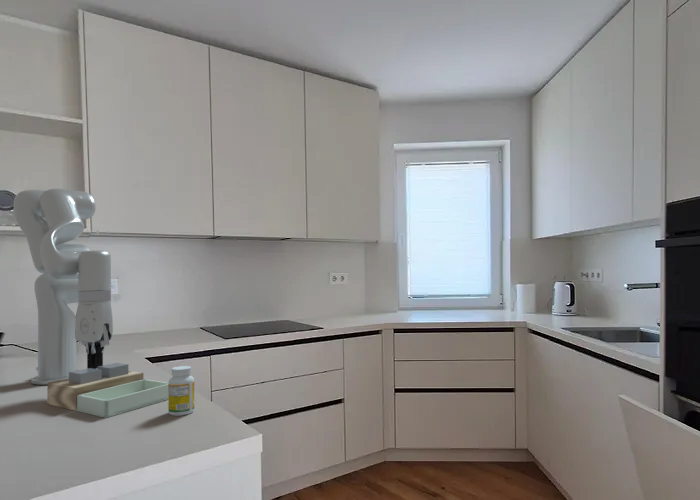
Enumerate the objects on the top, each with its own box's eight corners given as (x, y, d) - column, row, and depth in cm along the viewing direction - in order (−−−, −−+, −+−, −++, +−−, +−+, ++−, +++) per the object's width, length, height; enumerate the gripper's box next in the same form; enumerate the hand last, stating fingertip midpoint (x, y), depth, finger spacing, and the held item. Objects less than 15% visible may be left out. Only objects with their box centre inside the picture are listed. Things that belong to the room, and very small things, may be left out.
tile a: (97, 376, 116) (97, 366, 116) (116, 372, 120) (116, 362, 120) (109, 378, 113) (109, 368, 113) (128, 373, 118) (128, 364, 118)
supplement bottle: (181, 417, 97) (181, 371, 97) (162, 414, 99) (162, 369, 100) (200, 410, 102) (199, 366, 102) (181, 407, 104) (181, 364, 104)
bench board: (47, 404, 110) (47, 382, 110) (115, 387, 124) (115, 368, 125) (75, 410, 104) (75, 388, 104) (143, 392, 118) (143, 372, 118)
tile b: (68, 382, 110) (68, 372, 110) (89, 377, 114) (89, 368, 114) (80, 384, 107) (80, 374, 107) (101, 379, 112) (101, 369, 112)
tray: (77, 411, 103) (77, 395, 103) (145, 392, 118) (144, 379, 118) (105, 417, 98) (105, 401, 98) (173, 397, 112) (173, 383, 113)
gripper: (64, 298, 122) (64, 368, 121) (97, 298, 115) (97, 373, 114) (92, 296, 129) (92, 363, 128) (125, 296, 121) (126, 367, 120)
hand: (95, 368), depth 121 cm, fingers closed
